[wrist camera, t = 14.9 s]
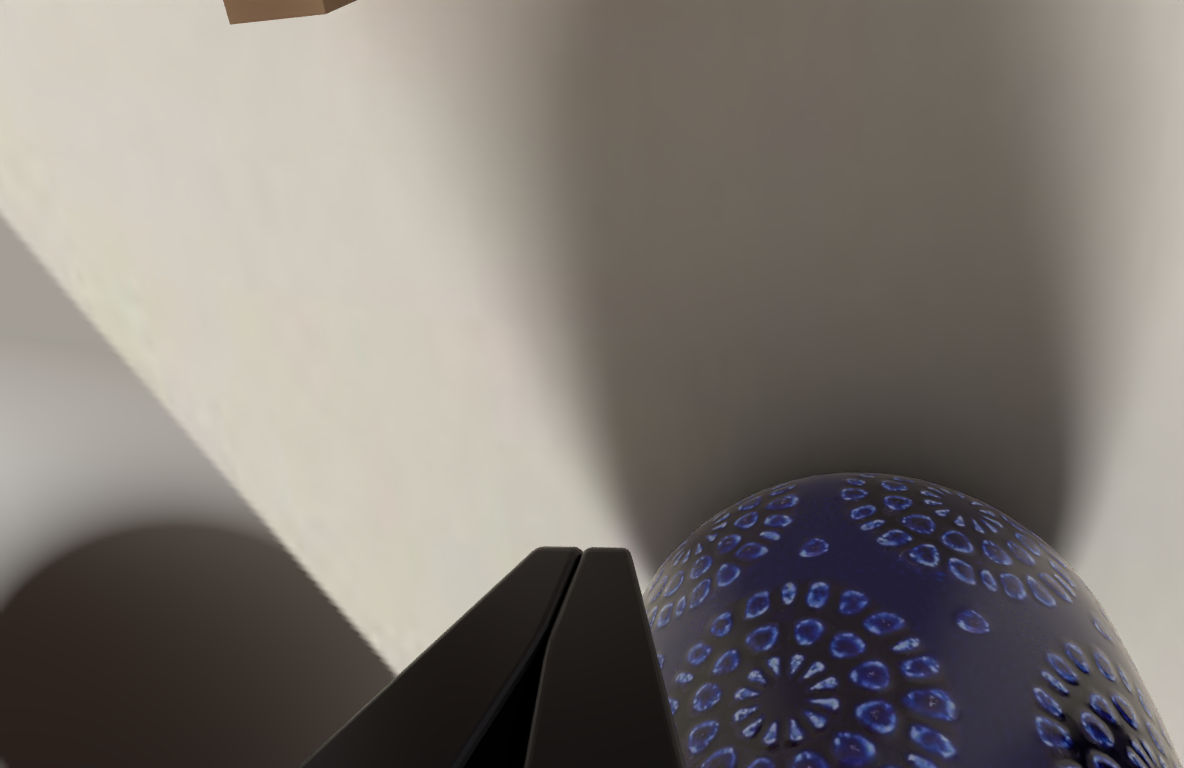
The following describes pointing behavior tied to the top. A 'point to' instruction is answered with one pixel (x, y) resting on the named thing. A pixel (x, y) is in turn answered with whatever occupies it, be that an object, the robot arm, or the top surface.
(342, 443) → the top surface
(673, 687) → the planter
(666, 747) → the robot arm
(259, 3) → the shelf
